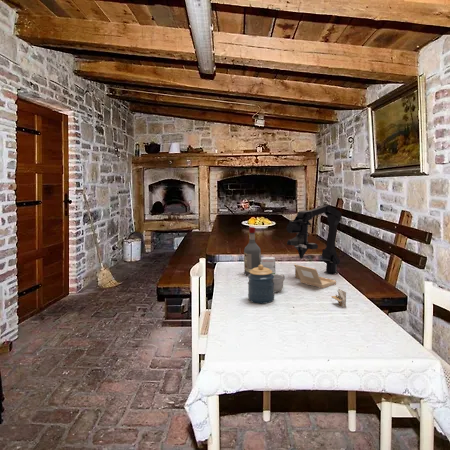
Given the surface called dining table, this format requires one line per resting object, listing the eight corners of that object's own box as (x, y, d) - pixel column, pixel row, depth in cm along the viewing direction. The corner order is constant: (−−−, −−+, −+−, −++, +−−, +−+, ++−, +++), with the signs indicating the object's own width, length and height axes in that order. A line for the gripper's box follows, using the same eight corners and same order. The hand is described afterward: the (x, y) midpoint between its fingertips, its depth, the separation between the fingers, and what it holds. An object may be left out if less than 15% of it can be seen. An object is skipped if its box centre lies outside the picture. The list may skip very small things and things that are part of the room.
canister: (256, 305, 160) (255, 268, 158) (243, 297, 172) (243, 263, 170) (279, 301, 165) (279, 265, 163) (265, 293, 177) (265, 260, 175)
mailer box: (313, 278, 203) (313, 275, 202) (336, 284, 190) (336, 280, 190) (300, 282, 196) (300, 279, 195) (322, 288, 183) (322, 284, 183)
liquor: (256, 272, 221) (255, 226, 217) (262, 275, 212) (261, 228, 209) (243, 273, 218) (242, 227, 215) (248, 277, 209) (248, 228, 206)
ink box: (275, 275, 212) (274, 257, 210) (275, 277, 207) (275, 258, 205) (261, 275, 212) (260, 257, 211) (261, 277, 207) (261, 258, 206)
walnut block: (299, 276, 208) (299, 267, 207) (304, 278, 204) (304, 268, 204) (295, 278, 205) (295, 268, 204) (300, 279, 202) (300, 269, 201)
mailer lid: (294, 264, 191) (294, 264, 191) (315, 268, 179) (315, 269, 179) (300, 278, 195) (300, 278, 195) (322, 283, 183) (321, 284, 183)
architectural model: (339, 308, 154) (339, 293, 153) (330, 303, 161) (330, 288, 160) (346, 308, 155) (346, 292, 154) (337, 303, 162) (337, 287, 161)
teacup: (270, 295, 175) (270, 279, 174) (259, 289, 184) (258, 275, 183) (292, 290, 181) (292, 276, 180) (279, 285, 191) (279, 271, 190)
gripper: (281, 231, 203) (280, 257, 204) (307, 235, 188) (305, 263, 190) (293, 230, 210) (292, 255, 211) (319, 234, 195) (317, 260, 197)
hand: (301, 258), depth 202 cm, fingers closed
